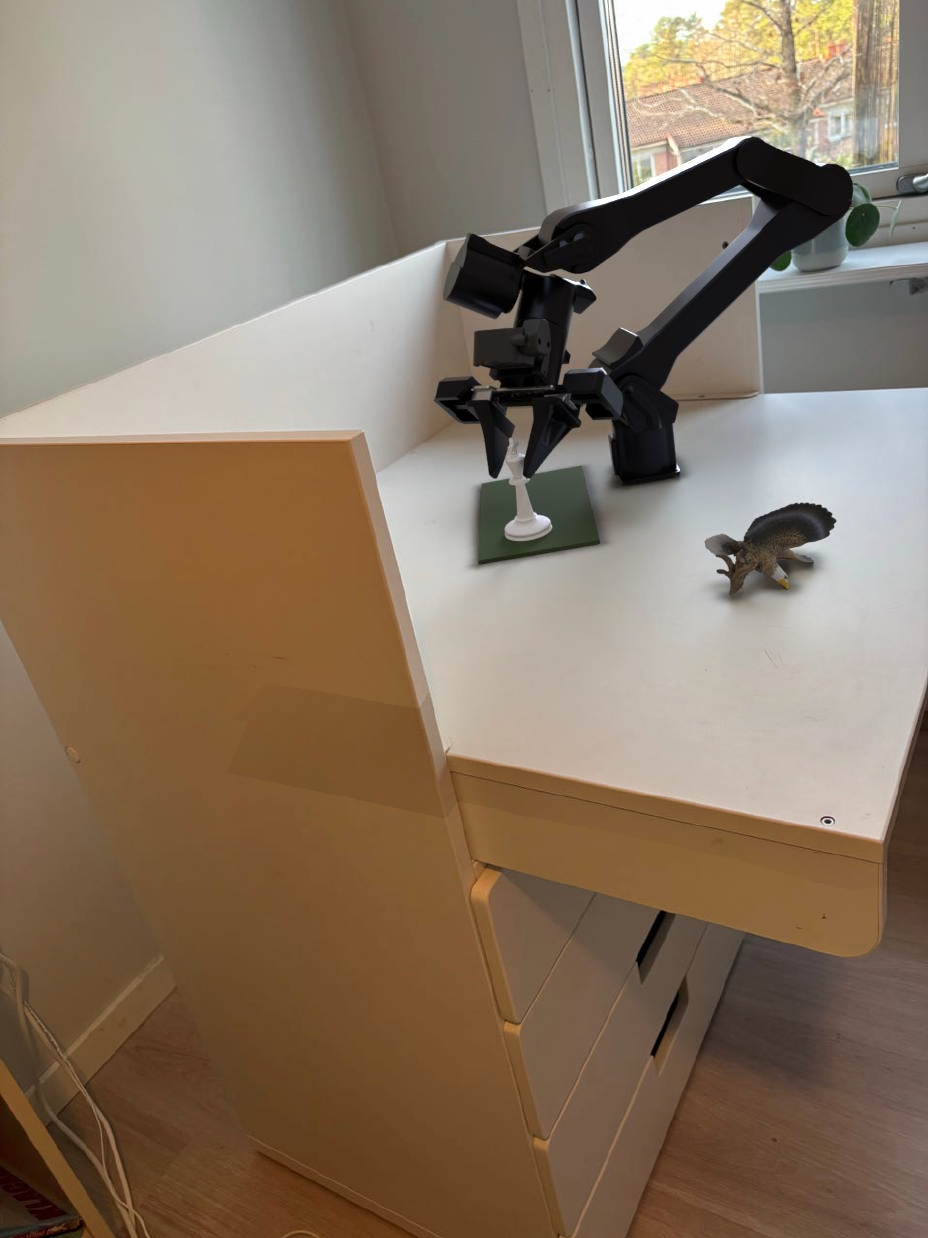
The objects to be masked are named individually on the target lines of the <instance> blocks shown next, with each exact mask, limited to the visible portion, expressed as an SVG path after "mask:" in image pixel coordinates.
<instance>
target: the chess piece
mask: <svg viewBox="0 0 928 1238" xmlns="http://www.w3.org/2000/svg"><path fill="white" fill-rule="evenodd" d="M509 443H510V444H509V447H508V450H507V453H508V452H509V453H510V455H507V456H506V457H505V460H504V462H505V463H506V465H507V467H508V468H509V471H510V472H511V474H512V477H510V479H509V478H508V479H509V484H510V485H515V486H516V499H517V516H516V517H515V519H514V520H512V521H511V522H509V523H508V524H507V525H506V526H505V537H506V538H507V539H509V540H512V541H529V540H534V539H537V538H540V537H543V536H545V535H546V534H548V533H549V532H550V531H551V530H552V525H551V521H550V519H549V518H547V517H545V516H542V515H537V513H535V512H533V509H532V507H531V503H530V500H529V497H528V494H527V490H526V487H525V483H527V482H528V481H529V480H530V479H526V478H525V477H524V476H523V466H524V459H525V454H524V453H521V452H518V449H517V448H518V447H519V444H520V443H519V441H518V440H517V441H516V439H515V437H512V438H510V439H509Z"/></svg>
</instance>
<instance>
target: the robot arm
mask: <svg viewBox="0 0 928 1238" xmlns="http://www.w3.org/2000/svg"><path fill="white" fill-rule="evenodd" d="M738 186H740V187H741V188H742V189H744V190H745V191H747V192H748V193H750V194H751V195H753V196H754V197H756V198H758V199H759V201H758V203H757V205H756V207H755V209H754V212H753V214H752V217H751V218H750V221H749V223H748V224H747V226H746V228H745V229H744V230H743V231H742V232H741V233H740V234H739V235H737V236H736V238H734V240H732V241H731V243H730V244H729V245H728V246H727V247H726V248H724V249H723V250H722V251H721V252H720V253H719V255H718V256H717V257H715V258H714V259H713V261H711V262H710V264H708V265H707V266H706V267H705V269H703V270H702V271H701V272H700V274H698V275H697V276H696V277H695V278H694V280H692V281H691V282H690V283H689V284H688V285H687V286H686V288H684V289H683V290H682V291H681V292H680V293H679V294H678V295H677V296H676V297H675V298H674V299H673V300H672V301H671V302H670V303H669V304H668V305H667V306H666V307H665V308H664V309H663V310H662V311H661V312H660V313H659V314H658V315H657V316H656V317H655V318H654V319H653V320H652V321H650V323H649V324H648V325H646V326H645V327H644V328H642V329H640V330H638V331H636V332H634V333H633V332H631V331H629V330H627V329H625V328H623V327H618V328H617V329H616V330H615V331H614V332H613V334H611V336H610V338H609V339H608V340H607V341H606V343H605V344H604V345H603V346H601V347H600V348H599V349H596V350H594V351H592V353H591V356H593V357H594V359H592V361H591V362H590V363H589V365H588V366H587V368H577V369H569V370H567V372H565V373H564V374H563V379H562V384H561V383H559V382H560V378H561V373H562V369H563V365H569V364H570V361H571V356H572V354H571V353H570V352H569V351H568V350H567V344H568V339H569V334H570V331H571V330H570V329H571V325H572V320H573V316H574V313H575V314H578V315H582V314H583V313H584V312H586V310H588V309H589V308H590V307H591V306H592V305H593V304H594V303H595V302H596V301H597V300H598V297H597V294H596V293H595V292H594V290H593V289H592V288H590V286H588V284H587V282H586V280H585V279H584V278H581V279H580V280H578V281H573V280H570V279H567V278H565V277H562V276H560V275H558V274H556V273H551V272H555V271H559V270H562V271H564V272H567V273H570V274H573V275H582V274H586V273H589V272H592V271H594V270H595V269H596V268H598V267H599V266H600V265H602V264H603V263H605V262H606V261H607V260H609V259H611V257H613V256H614V255H616V254H617V253H618V252H620V251H621V250H622V249H623V248H624V247H626V245H627V244H628V243H629V242H630V241H631V240H632V239H634V238H635V237H636V236H638V235H639V234H640V233H643V231H646V230H648V229H650V228H652V227H654V226H657V225H658V224H661V223H662V222H665V221H667V220H669V219H672V218H674V217H675V216H678V215H680V214H681V213H682V214H683V213H684V212H686V211H688V210H690V209H692V208H694V207H697V206H699V205H701V204H703V203H705V202H707V201H710V200H711V199H713V198H715V197H717V196H719V195H722V194H724V193H726V192H728V191H730V190H732V189H735V188H736V187H738ZM853 194H854V181H853V178H852V176H851V174H850V172H849V171H848V170H847V169H846V168H845V167H844V166H842V165H840V164H837V163H816V162H814V161H811V160H809V159H806V158H804V157H801V156H799V155H796V154H794V153H790V152H788V151H785V150H783V149H780V148H777V147H776V146H774V145H772V144H770V143H768V142H766V140H764V139H762V138H760V137H759V136H753V135H750V136H737V137H732V138H729V139H728V140H725V142H724V143H723V144H722V145H721V146H718V147H716V148H714V149H712V150H710V151H707V152H706V153H704V154H702V155H699V156H698V157H696V158H693V159H691V160H690V161H687V162H685V163H683V164H681V165H679V166H677V167H675V168H671V169H670V170H668V171H666V172H664V173H662V174H659V175H657V176H656V177H653V178H651V179H649V180H646V181H645V182H643V183H641V184H638V185H636V186H634V187H632V188H630V189H628V190H626V191H624V192H621V193H620V194H615V195H611V196H608V197H603V198H597V199H594V200H588V201H585V202H580V203H577V204H573V205H569V206H565V207H562V208H558V209H556V210H554V211H552V212H551V213H549V214H548V215H547V216H546V217H545V218H544V219H543V220H542V223H541V226H540V228H539V230H538V233H536V234H534V236H532V237H530V238H529V239H528V240H526V241H525V242H524V243H522V244H520V245H519V246H518V247H516V248H515V249H513V250H512V251H510V250H508V249H506V248H503V247H501V246H499V245H496V244H493V243H491V242H490V241H489V240H487V239H486V238H485V237H483V236H480V235H478V234H475V233H473V232H468V233H467V234H466V236H465V240H464V242H463V244H462V245H461V247H460V248H459V250H458V252H457V254H456V256H455V258H454V261H452V262H451V263H450V266H449V267H448V271H447V274H446V278H445V281H444V286H443V290H442V299H443V301H445V302H448V303H450V304H453V305H456V306H458V307H461V308H464V309H466V310H469V311H470V312H475V313H477V314H479V315H482V316H484V317H486V318H490V319H493V320H497V319H498V318H500V316H501V315H502V314H504V315H507V314H510V313H511V312H512V310H513V309H514V308H515V305H516V304H517V307H516V311H515V314H514V315H515V316H514V319H513V320H514V321H513V325H512V327H501V328H491V329H481V330H480V329H479V330H475V331H474V332H473V351H472V352H473V353H472V354H473V357H472V366H473V367H475V368H476V367H477V368H479V367H483V368H487V369H489V372H488V376H489V377H490V378H491V379H492V380H493V381H494V382H495V381H498V382H499V387H495V386H493V385H488V384H486V385H483V384H482V383H480V381H479V380H478V379H477V378H476V377H475V376H473V375H467V376H451V377H450V376H449V377H444V378H442V379H441V380H439V381H438V383H437V385H436V389H435V393H434V397H433V401H434V403H436V405H438V406H439V407H440V408H441V409H442V410H443V411H445V412H446V413H447V414H448V415H449V416H450V417H451V418H452V419H454V420H455V421H456V422H457V423H459V424H462V425H480V427H481V431H482V435H483V442H484V449H485V455H486V463H487V470H488V476H489V477H490V478H492V479H494V480H496V479H498V477H499V475H500V473H501V471H502V468H503V466H504V462H505V459H506V457H507V453H508V447H509V446H510V443H509V439H510V438H513V435H514V431H515V428H516V425H515V424H514V423H513V422H512V421H511V420H510V419H509V418H508V417H507V412H508V408H519V407H520V408H521V407H522V408H523V407H532V417H533V418H532V425H531V429H530V434H529V437H528V442H527V445H526V446H527V447H526V451H525V454H524V455H525V459H524V466H523V476H524V477H525V478H526V479H530V478H531V477H532V476H533V475H534V474H536V472H537V471H538V470H539V468H540V467H541V466H542V465H543V463H544V462H545V461H546V460H547V458H548V457H549V456H550V454H551V453H552V452H553V451H554V449H555V448H556V447H557V446H558V445H559V444H560V443H561V441H563V440H564V438H566V437H567V435H568V434H569V433H570V432H571V431H572V430H573V429H579V428H581V426H582V420H581V419H580V413H581V409H582V408H583V407H584V405H585V407H584V408H585V409H584V411H585V412H586V414H587V415H588V417H589V418H590V419H591V420H592V421H611V428H612V429H611V430H612V433H609V434H608V435H607V440H608V447H609V453H610V462H611V468H612V472H613V474H614V476H616V477H618V478H619V482H620V485H621V486H626V485H632V484H638V483H645V482H649V481H656V480H661V479H666V478H671V477H672V478H673V477H677V476H680V475H681V469H680V466H679V465H678V463H677V453H676V452H677V451H676V444H675V443H676V442H675V434H674V424H675V423H676V420H677V416H678V412H679V408H680V404H679V402H678V401H676V400H675V399H673V398H672V397H671V396H669V395H667V394H666V393H664V392H663V391H661V390H662V389H663V388H664V386H665V385H666V383H667V381H668V379H669V377H670V374H671V372H672V370H673V368H674V366H675V364H676V361H677V359H678V358H679V357H680V355H681V354H682V353H683V352H684V351H686V349H688V348H689V346H691V344H693V342H694V341H696V340H697V338H699V336H700V335H702V334H703V333H704V332H705V331H706V330H707V329H708V328H709V327H710V326H711V325H712V324H713V323H714V322H715V321H716V320H717V319H718V318H719V317H720V316H721V315H722V314H723V313H725V311H726V310H727V309H728V308H729V307H730V306H732V304H734V303H735V301H737V300H738V299H739V298H740V296H741V295H743V294H744V293H745V292H746V291H747V290H748V289H749V288H750V287H751V286H752V285H753V284H754V283H755V282H756V281H757V280H758V279H759V278H760V277H762V275H763V274H764V273H765V272H766V271H768V269H769V268H770V267H771V266H773V264H775V262H776V261H778V260H779V259H780V258H781V257H782V256H784V255H785V254H787V253H790V252H791V251H793V250H795V249H797V248H799V247H801V246H803V245H805V244H808V243H809V242H811V241H813V240H814V239H816V238H818V237H819V236H820V235H822V234H823V233H825V232H826V231H827V230H829V229H830V228H831V227H833V226H835V225H836V224H838V222H840V221H841V220H842V219H844V217H845V216H846V215H847V213H849V211H850V209H851V207H852V205H853ZM526 268H529V269H532V270H534V271H537V272H539V273H540V274H539V273H536V272H533V271H530V270H528V269H526ZM546 273H550V274H549V275H545V274H546ZM517 301H518V302H517Z"/></svg>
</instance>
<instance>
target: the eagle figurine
mask: <svg viewBox="0 0 928 1238" xmlns="http://www.w3.org/2000/svg"><path fill="white" fill-rule="evenodd" d="M837 521H838V520H837V519H836V518H835V517H833V512H831V511H829V510H828V508H827V507H823V505H822V504H820V503H819V504H816V503H814V502H812V503H809V502H800V503H798V502H795V503H789V504H787V505H786V506H784V507H783V506H782V507H779V508H777V509H774V510H771V511H769V512H768V513H765V514H763V515H760V516H758V517H755V518H754V520H753V521H752V522H751V524H750V525H749V526H748V528H747V531H746V532H745V533H744V536H743V537H742V538H743V540H736V539H734V538H733V537H730V536H729V535H728V534H725V533H720V534H714V535H712V536H710V537H708V538H707V537H706V538H705V540H704V541H703V542H704V547H705V549H706V550H708V551H709V552H710V553H711V554H713V555H715V557H716V558H718V559H721V560H723V561H724V563H725V565H726V566H727V570H725V569H723V568H718V569H716V573H717V574H718V575H724V576H725V577H727V578H728V580H729V585H730V587H729V593H728V594H729V596H730V597H733V596H734V595H736V594H737V593H738V592H739V591H740V590H741V589H742V588H743V587H744V584H745V579H746V577H747V576H748V575H749V574H750V573H751V572H753V571H756V572H758V573H760V574H762V575H764V576H767V577H770V578H772V579H774V580H775V581H776V582H778V583H780V584H781V585H783V587H785V589H786V590H789V589H790V582H789V576H788V575H787V573H786V572H785V570H784V569H782V567H781V566H780V565H779V563H778V562H777V561H779V560H781V561H782V560H783V561H796V562H801V563H802V562H803V563H807V564H814V563H815V560H814V559H812V557H810V556H807V555H805V554H799V553H796V552H795V551H794V550H793V549H795V548H799V547H802V546H804V545H807V544H809V543H816V542H819V541H822V540H824V539H826V538H828V537H829V536H830V535H831V531H832V530H834V529H835V524H836V523H837ZM730 556H733V557H735V561H734V562H733V559H732V558H731V557H730Z"/></svg>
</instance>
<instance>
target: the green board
mask: <svg viewBox="0 0 928 1238" xmlns="http://www.w3.org/2000/svg"><path fill="white" fill-rule="evenodd" d="M510 478H511V477H510ZM510 478H504V479H499V480H493V481H489V482H483V483H481V487H480V488H481V489H480V491H481V492H480V511H479V533H478V534H479V535H478V557H477V559H478V564H479V565H481V564H482V565H483V564H487V563H488V564H489V563H494V562H499V561H505V560H511V559H516V558H517V559H518V558H523V557H528V556H534V555H540V554H546V553H553V552H558V551H565V550H570V549H575V548H580V547H581V548H582V547H588V546H593V545H599V544H601V541H600V537H599V531H598V528H597V524H596V519H595V515H594V512H593V507H592V504H591V499H590V495H589V490H588V487H587V483H586V479H585V475H584V470H583V466H582V465H577V466H570V467H566V468H564V467H563V468H559V469H555V470H554V469H553V470H548V471H542V472H537V473H535V474H534V475H533V476H532V477H531V478H530V480H529V481H528V482H527V483H525V487H526V490H527V494H528V497H529V500H530V503H531V507H532V509H533V512H535V513H537V515H542V516H545V517H547V518H549V519H550V521H551V525H552V530H551V531H550V532H549V533H548V534H546V535H545V536H543V537H540V538H537V539H534V540H529V541H512V540H509V539H507V538H506V537H505V526H506V525H507V524H508V523H509V522H511V521H512V520H514V519H515V517H516V516H517V499H516V486H515V485H510V484H509V479H510Z"/></svg>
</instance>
